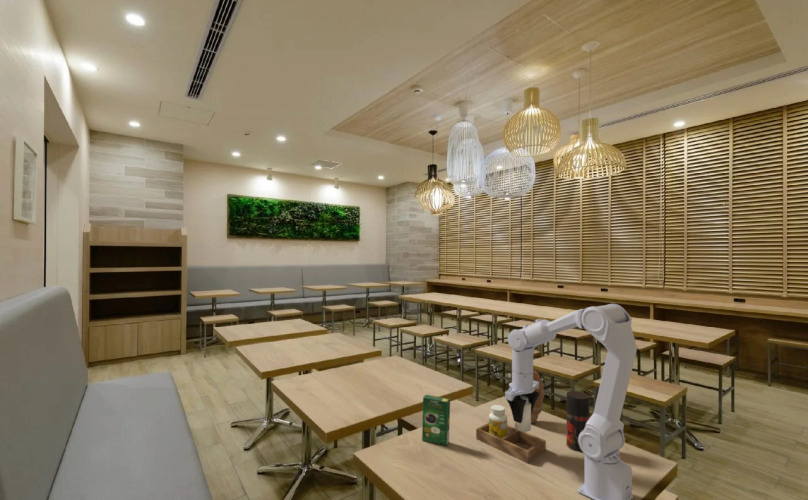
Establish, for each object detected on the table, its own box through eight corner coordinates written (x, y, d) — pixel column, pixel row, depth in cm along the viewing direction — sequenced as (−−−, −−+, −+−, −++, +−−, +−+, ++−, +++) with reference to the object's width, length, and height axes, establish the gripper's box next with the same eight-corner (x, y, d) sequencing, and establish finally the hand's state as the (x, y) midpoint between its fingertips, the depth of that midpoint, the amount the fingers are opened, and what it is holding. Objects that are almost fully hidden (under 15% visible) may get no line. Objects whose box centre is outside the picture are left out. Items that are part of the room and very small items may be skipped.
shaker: (534, 428, 106) (534, 398, 106) (524, 433, 103) (524, 402, 103) (520, 422, 109) (520, 393, 109) (511, 427, 106) (511, 397, 106)
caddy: (545, 450, 106) (545, 440, 106) (527, 463, 100) (528, 452, 100) (494, 429, 119) (494, 419, 119) (476, 438, 112) (476, 429, 112)
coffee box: (450, 442, 111) (450, 397, 111) (447, 446, 108) (447, 401, 108) (425, 436, 114) (425, 393, 114) (421, 441, 111) (421, 397, 111)
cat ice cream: (544, 430, 118) (544, 373, 118) (518, 426, 121) (518, 370, 121) (543, 418, 127) (543, 365, 127) (519, 415, 129) (519, 363, 129)
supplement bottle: (511, 441, 111) (511, 409, 111) (497, 445, 109) (497, 412, 109) (498, 433, 116) (498, 402, 116) (485, 437, 113) (485, 406, 113)
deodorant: (591, 453, 105) (591, 399, 105) (569, 450, 106) (569, 398, 106) (585, 442, 110) (585, 392, 111) (564, 440, 112) (564, 390, 112)
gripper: (523, 363, 114) (523, 407, 114) (495, 373, 104) (495, 421, 104) (545, 368, 109) (545, 415, 109) (518, 379, 99) (518, 430, 99)
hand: (522, 419), depth 106 cm, fingers closed on shaker, 4 cm apart
